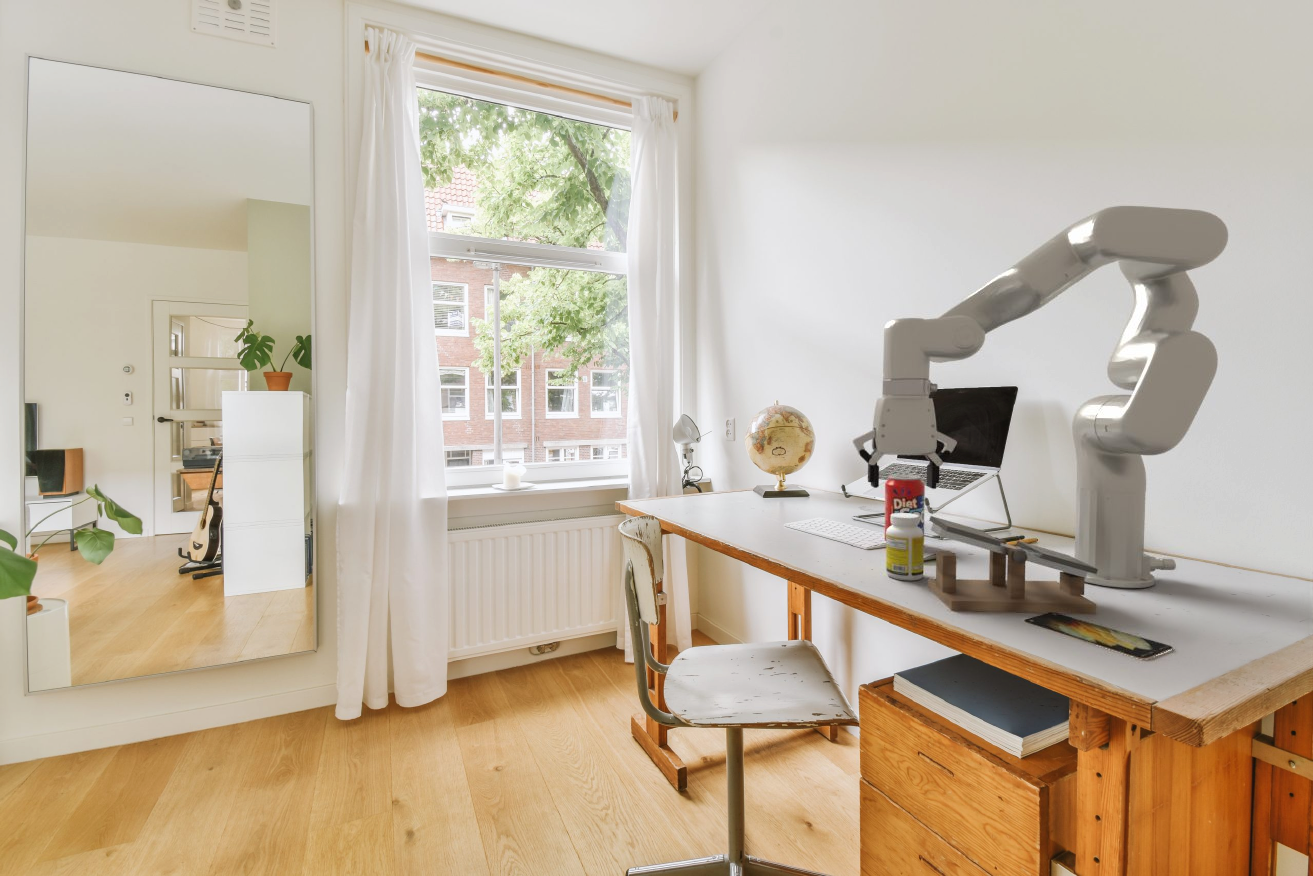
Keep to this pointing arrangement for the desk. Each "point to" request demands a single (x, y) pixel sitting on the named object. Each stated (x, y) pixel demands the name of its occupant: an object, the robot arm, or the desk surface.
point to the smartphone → (1099, 635)
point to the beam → (1010, 547)
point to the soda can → (904, 498)
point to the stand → (1008, 588)
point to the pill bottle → (904, 547)
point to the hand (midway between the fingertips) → (902, 487)
